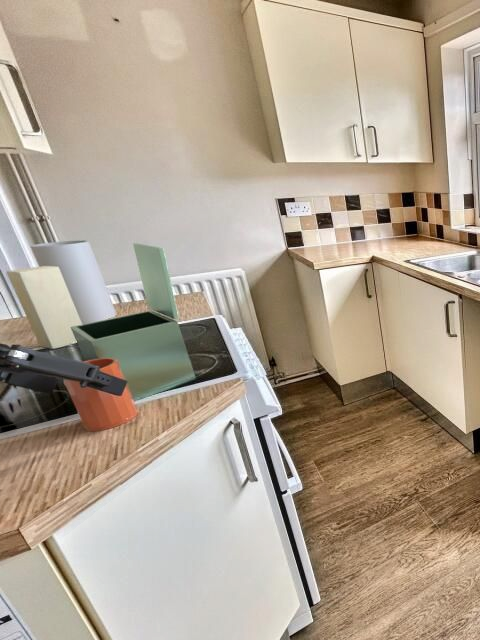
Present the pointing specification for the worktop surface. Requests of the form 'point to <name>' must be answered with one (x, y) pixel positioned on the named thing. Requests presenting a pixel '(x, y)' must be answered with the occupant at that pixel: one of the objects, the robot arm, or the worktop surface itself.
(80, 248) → the cylinder vase
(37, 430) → the worktop surface
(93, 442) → the worktop surface
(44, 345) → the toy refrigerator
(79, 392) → the cup
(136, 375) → the green open box
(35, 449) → the worktop surface
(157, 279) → the box lid
